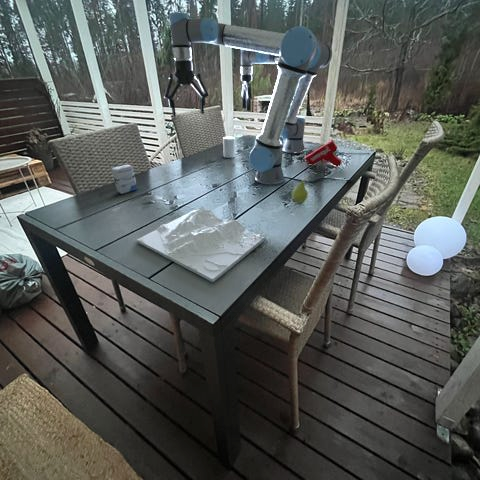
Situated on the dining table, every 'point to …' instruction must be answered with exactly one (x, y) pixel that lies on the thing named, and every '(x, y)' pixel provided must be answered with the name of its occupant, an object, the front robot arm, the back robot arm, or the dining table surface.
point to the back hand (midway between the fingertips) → (246, 109)
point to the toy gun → (324, 155)
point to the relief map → (202, 243)
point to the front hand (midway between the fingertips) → (188, 114)
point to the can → (229, 147)
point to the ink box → (124, 178)
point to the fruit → (300, 192)
